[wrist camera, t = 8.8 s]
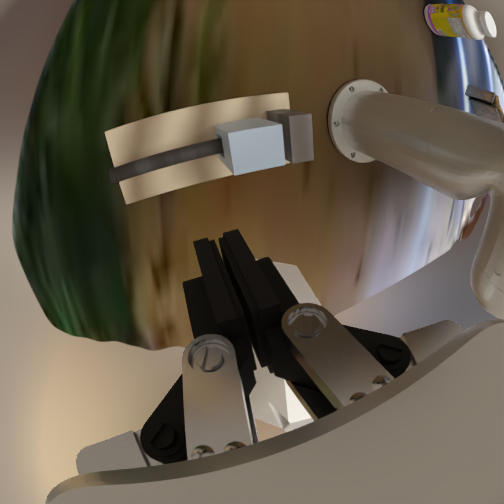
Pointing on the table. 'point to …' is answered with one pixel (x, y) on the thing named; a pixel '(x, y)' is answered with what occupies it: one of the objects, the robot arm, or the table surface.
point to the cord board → (181, 137)
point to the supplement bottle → (459, 21)
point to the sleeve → (251, 145)
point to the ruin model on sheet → (485, 104)
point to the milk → (274, 388)
